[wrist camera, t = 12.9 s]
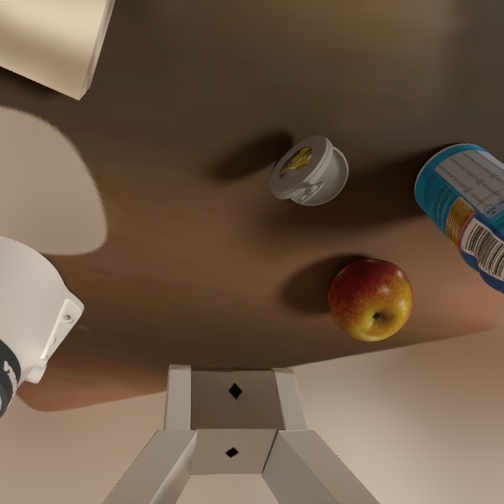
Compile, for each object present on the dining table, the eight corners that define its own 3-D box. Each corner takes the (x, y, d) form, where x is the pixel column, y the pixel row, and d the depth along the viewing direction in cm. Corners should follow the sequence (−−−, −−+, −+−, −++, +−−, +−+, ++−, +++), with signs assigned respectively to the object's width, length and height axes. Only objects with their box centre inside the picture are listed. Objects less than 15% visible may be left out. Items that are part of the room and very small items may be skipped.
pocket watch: (332, 205, 44) (362, 262, 36) (256, 193, 42) (270, 249, 34) (361, 132, 40) (403, 177, 31) (277, 114, 38) (299, 157, 30)
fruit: (368, 232, 47) (396, 276, 40) (412, 271, 51) (443, 318, 44) (306, 283, 50) (322, 332, 44) (351, 316, 54) (372, 365, 48)
